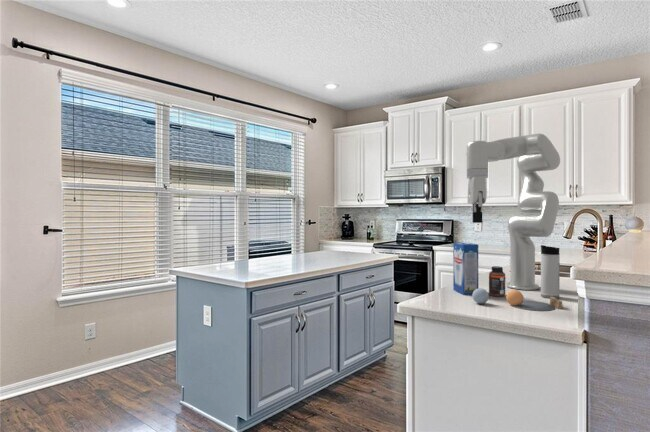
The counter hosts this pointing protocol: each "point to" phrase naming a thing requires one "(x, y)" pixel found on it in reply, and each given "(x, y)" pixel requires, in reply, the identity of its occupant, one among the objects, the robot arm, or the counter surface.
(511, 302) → the orange ball
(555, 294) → the travel mug
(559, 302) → the rail
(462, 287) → the milk carton
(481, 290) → the light blue ball
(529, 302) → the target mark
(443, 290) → the counter surface
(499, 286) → the supplement bottle
